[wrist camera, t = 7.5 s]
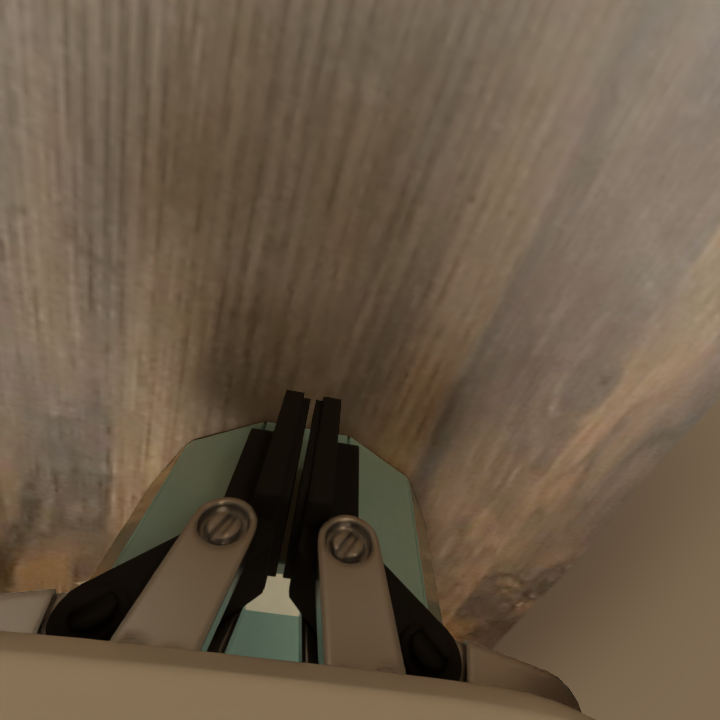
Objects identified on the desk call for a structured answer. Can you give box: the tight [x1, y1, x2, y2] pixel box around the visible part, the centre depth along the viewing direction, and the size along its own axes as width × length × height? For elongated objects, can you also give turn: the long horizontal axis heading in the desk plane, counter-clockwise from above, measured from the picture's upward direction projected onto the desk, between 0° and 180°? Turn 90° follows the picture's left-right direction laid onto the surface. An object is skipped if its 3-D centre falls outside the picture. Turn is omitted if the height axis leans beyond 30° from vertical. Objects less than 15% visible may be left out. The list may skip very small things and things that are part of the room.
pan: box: [90, 422, 443, 662], centre depth 17 cm, size 20×12×6 cm, turn 168°
